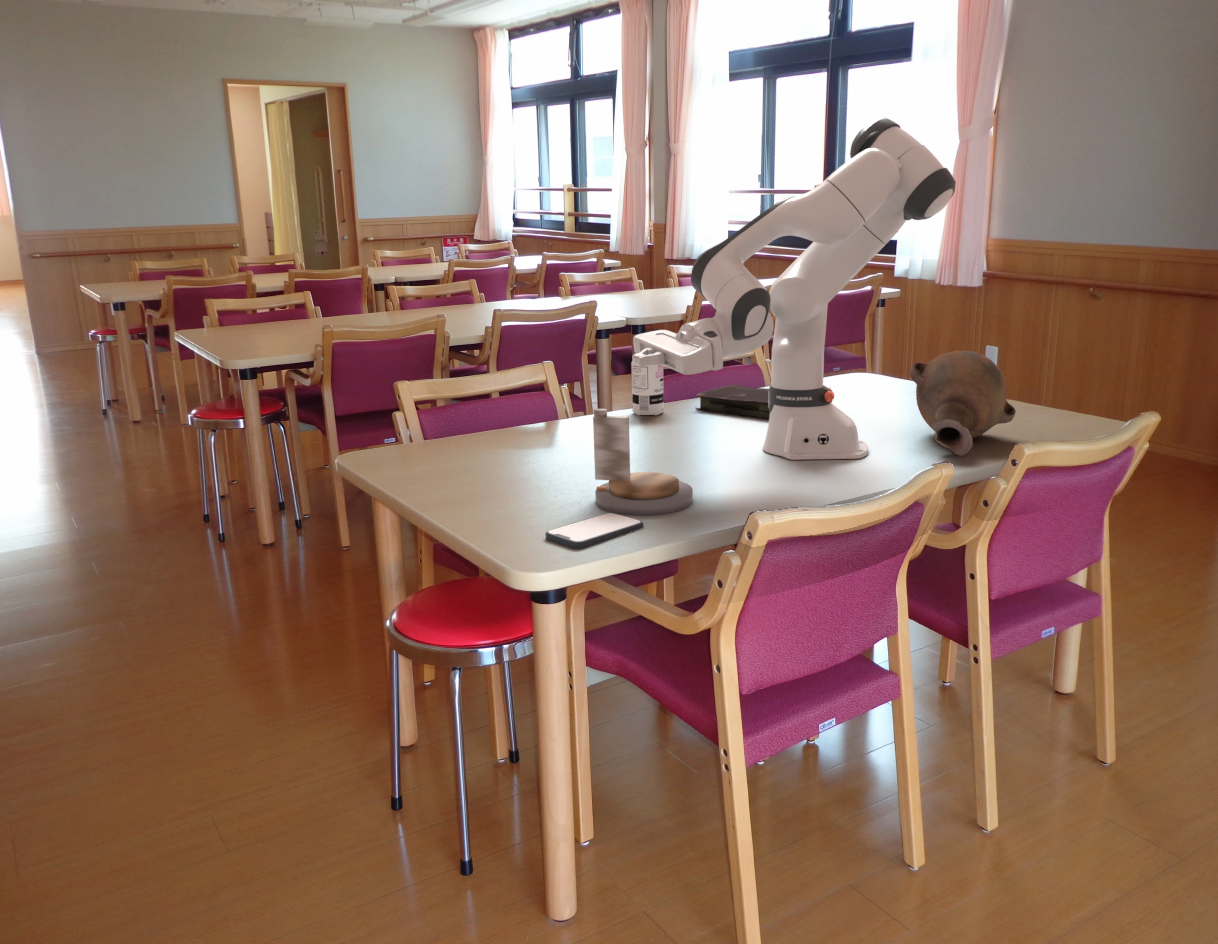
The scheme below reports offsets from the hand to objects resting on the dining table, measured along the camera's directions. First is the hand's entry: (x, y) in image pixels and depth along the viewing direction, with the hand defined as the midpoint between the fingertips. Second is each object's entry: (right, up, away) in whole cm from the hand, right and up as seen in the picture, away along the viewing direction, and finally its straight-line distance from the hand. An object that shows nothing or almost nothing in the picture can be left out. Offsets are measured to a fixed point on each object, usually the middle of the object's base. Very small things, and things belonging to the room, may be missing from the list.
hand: (636, 361), depth 188 cm
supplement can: (+5, -6, +71) cm, 72 cm away
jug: (+72, -15, +32) cm, 80 cm away
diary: (+33, -5, +72) cm, 79 cm away
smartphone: (-7, -32, -21) cm, 39 cm away
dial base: (+1, -26, -4) cm, 27 cm away
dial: (0, -24, -5) cm, 25 cm away
